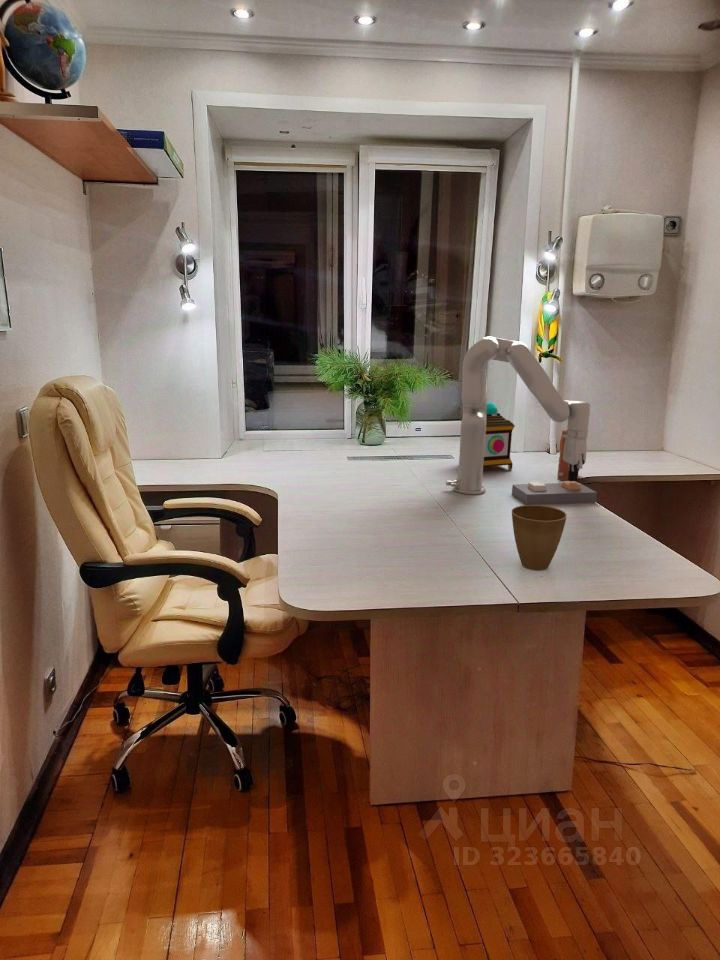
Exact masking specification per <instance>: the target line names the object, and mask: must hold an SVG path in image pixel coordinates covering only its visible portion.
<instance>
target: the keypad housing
mask: <svg viewBox="0 0 720 960" xmlns="http://www.w3.org/2000/svg"><path fill="white" fill-rule="evenodd" d="M578 483H579V484H581V487H580V490H566V489H565V488H563V487H562V482H559V483H557V482H556V483H555V482H554V483H544V484H545V485H546V491H532V490H530V489H529V488H528V483H519V484H518V483H517V484H515V483H513V484H512V485H511V495H512V496H513V497H515V499H517V500H519V501H520V502H521V503H522V504H525V505H557V504H558V505H559V504H561V505H562V504H563V505H564V504H590V503H592V502H594V503H597V495H598V491H595V490H593V489H591V488H590V487H587V486H586V485H585V484H582V483H580V482H578Z"/></svg>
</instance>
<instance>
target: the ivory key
mask: <svg viewBox="0 0 720 960" xmlns="http://www.w3.org/2000/svg"><path fill="white" fill-rule="evenodd" d="M527 484H528V488H529V489H530V490H532V491H546V485H545V484H546V483H543V482H541V481H532V482H531V481H530V482H528V483H527Z"/></svg>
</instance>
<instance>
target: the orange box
mask: <svg viewBox="0 0 720 960" xmlns="http://www.w3.org/2000/svg"><path fill="white" fill-rule="evenodd" d="M566 436H567V427H565V428H564V429H562V430H561V436H560V441H559V458H558V465H557V466H558V468H557V476H556V478H557V480H560V481H561V480H562V481H569V480H568V473H569V470H568V464H567V462H565V461H564V460H563V450H564V444H565V439H566Z"/></svg>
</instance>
